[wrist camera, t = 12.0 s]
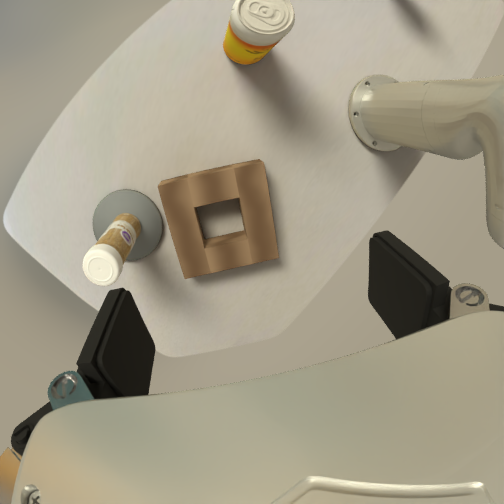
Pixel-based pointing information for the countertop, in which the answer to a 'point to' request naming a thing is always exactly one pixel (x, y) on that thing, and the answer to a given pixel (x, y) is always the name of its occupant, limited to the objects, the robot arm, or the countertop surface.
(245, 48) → the beer can
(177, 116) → the countertop surface
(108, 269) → the sprinkles bottle
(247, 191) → the walnut pocket block
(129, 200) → the slate coaster
